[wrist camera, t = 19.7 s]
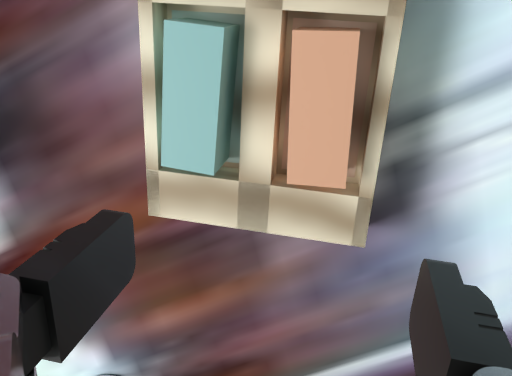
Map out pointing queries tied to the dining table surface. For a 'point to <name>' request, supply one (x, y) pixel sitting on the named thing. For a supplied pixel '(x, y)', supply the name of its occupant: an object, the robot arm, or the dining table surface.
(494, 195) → the dining table surface
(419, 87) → the dining table surface
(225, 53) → the batten teal
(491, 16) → the dining table surface
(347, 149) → the block
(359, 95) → the slot rack
